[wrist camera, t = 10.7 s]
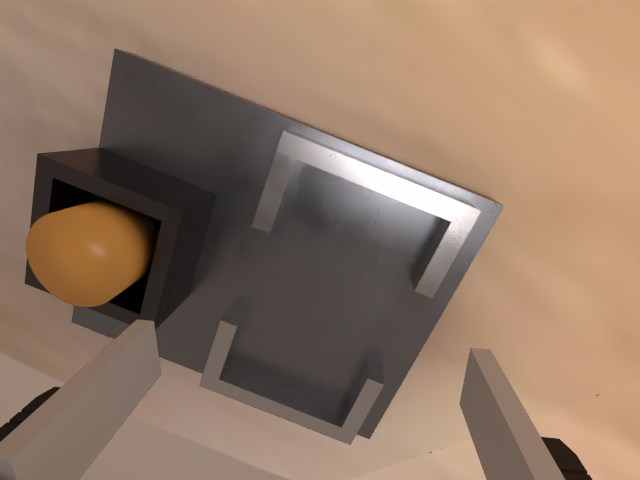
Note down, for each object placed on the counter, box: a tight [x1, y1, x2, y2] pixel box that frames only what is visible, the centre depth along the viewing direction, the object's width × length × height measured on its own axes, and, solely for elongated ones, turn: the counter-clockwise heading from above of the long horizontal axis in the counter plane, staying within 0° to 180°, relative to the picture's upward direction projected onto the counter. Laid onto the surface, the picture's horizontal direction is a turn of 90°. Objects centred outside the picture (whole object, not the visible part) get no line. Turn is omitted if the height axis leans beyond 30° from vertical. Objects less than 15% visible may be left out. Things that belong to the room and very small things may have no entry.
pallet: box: [25, 49, 504, 445], centre depth 19 cm, size 21×17×6 cm
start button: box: [26, 198, 158, 307], centre depth 17 cm, size 4×4×3 cm
